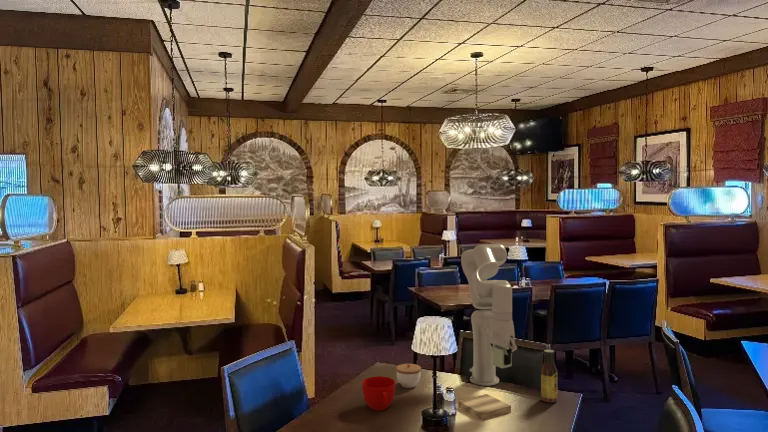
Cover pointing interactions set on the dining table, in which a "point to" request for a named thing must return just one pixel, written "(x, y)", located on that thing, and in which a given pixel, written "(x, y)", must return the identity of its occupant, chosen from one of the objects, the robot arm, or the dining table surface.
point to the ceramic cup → (378, 392)
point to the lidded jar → (408, 374)
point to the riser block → (484, 406)
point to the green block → (499, 357)
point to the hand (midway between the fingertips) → (502, 362)
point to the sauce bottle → (549, 378)
